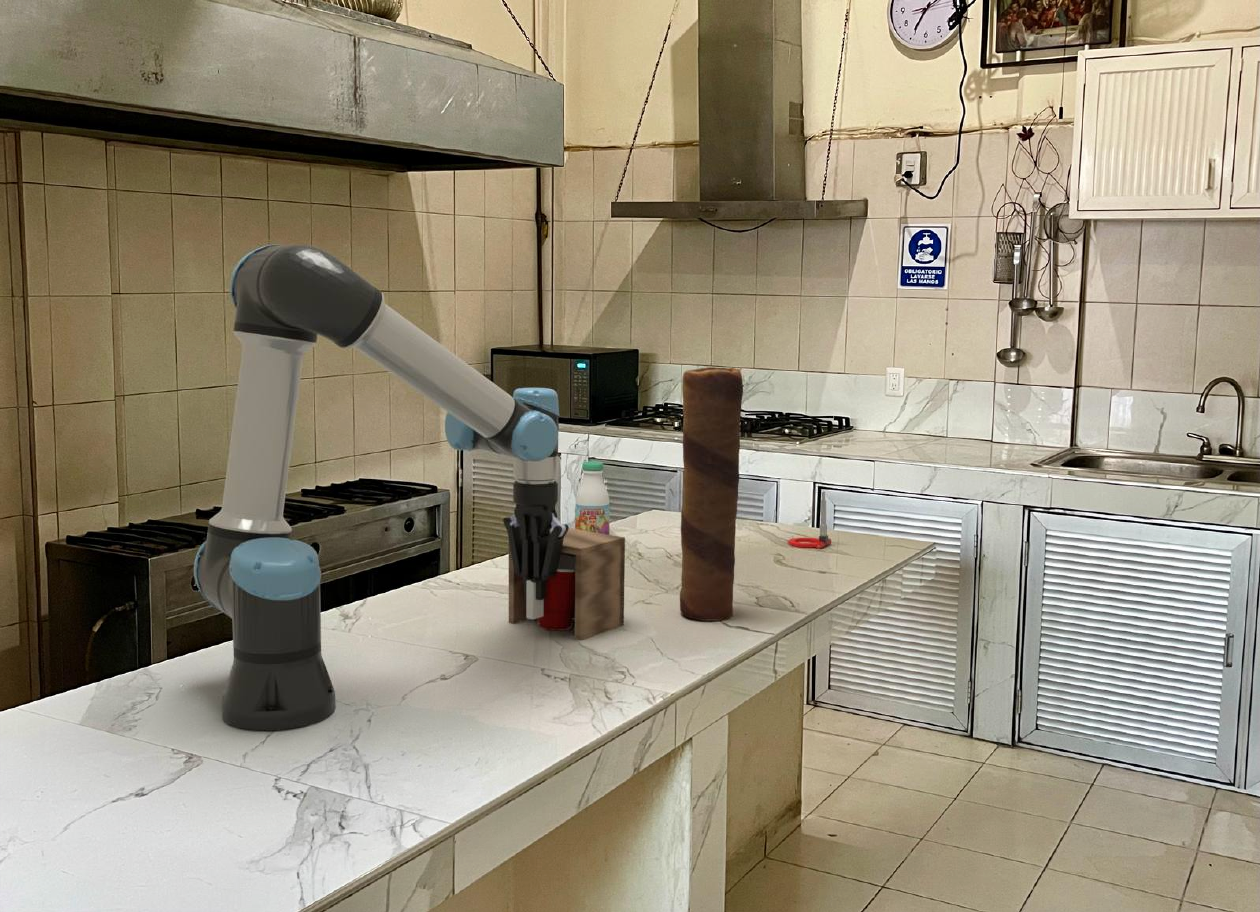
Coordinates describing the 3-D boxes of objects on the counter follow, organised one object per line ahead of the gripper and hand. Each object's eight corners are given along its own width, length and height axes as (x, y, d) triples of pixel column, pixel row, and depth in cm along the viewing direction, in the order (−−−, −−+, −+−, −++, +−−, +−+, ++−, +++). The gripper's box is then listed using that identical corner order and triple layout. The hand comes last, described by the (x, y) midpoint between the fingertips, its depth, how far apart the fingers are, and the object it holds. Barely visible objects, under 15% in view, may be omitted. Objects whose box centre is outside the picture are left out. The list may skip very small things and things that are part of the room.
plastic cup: (560, 638, 203) (563, 568, 202) (512, 626, 210) (514, 558, 208) (599, 626, 212) (602, 559, 211) (552, 615, 218) (554, 550, 217)
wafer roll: (729, 625, 213) (736, 370, 207) (671, 619, 217) (676, 368, 210) (743, 611, 223) (750, 367, 217) (688, 605, 226) (693, 365, 220)
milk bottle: (571, 547, 274) (571, 460, 272) (603, 545, 277) (604, 459, 274) (579, 554, 267) (580, 465, 264) (613, 553, 269) (614, 464, 267)
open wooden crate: (580, 640, 203) (581, 548, 201) (508, 622, 213) (508, 535, 211) (623, 624, 213) (625, 537, 210) (553, 608, 223) (553, 525, 220)
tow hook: (782, 547, 280) (820, 550, 276) (782, 492, 279) (820, 494, 274) (796, 541, 287) (833, 544, 283) (795, 487, 286) (833, 489, 281)
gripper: (579, 481, 202) (578, 619, 205) (522, 473, 209) (521, 606, 213) (550, 487, 196) (549, 628, 199) (491, 478, 204) (491, 615, 207)
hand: (534, 617), depth 206 cm, fingers closed
